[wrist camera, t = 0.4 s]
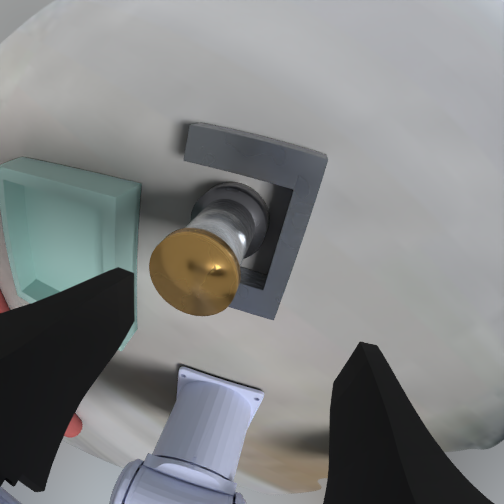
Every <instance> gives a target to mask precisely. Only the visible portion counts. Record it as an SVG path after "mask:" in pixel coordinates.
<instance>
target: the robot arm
mask: <svg viewBox="0 0 504 504" xmlns="http://www.w3.org/2000/svg"><path fill="white" fill-rule="evenodd" d="M134 321H135V315H134V273H133V272H130V271H127V270H125V269H122V268H119V267H117V268H114V269H112V270H109V271H107V272H104V273H102V274H100V275H97V276H95V277H93V278H91V279H88V280H86V281H84V282H82V283H79V284H77V285H75V286H72V287H70V288H68V289H66V290H63V291H61V292H59V293H56V294H54V295H51V296H49V297H46V298H43V299H41V300H39V301H36V302H34V303H31V304H28V305H25V306H22V307H19V308H16V309H13V310H9V311H6V312H3V313H0V504H21V503H20V502H19V501H18V500H16V499H15V498H14V497H13V496H11V495H10V494H9V493H8V492H7V491H5V490H4V489H3V488H2V487H1V485H2V483H3V482H4V480H6V481H7V482H8V483H9V484H10V485H12V486H15V485H16V483H17V481H18V480H19V481H20V482H21V483H23V484H24V485H26V486H27V487H29V488H30V489H31V490H33V491H34V492H41V491H44V490H45V487H46V483H47V479H48V476H49V473H50V469H51V466H52V463H53V461H54V458H55V456H56V453H57V450H58V448H59V445H60V443H61V441H62V439H63V436H64V434H65V432H66V430H67V428H68V425H69V423H70V421H71V419H72V417H73V416H74V414H75V412H76V410H77V408H78V406H79V404H80V402H81V401H82V399H83V397H84V396H85V394H86V393H87V391H88V390H89V388H90V387H91V386H92V384H93V383H94V382H95V380H96V379H97V377H98V376H99V375H100V373H101V372H102V371H103V369H104V368H105V366H106V365H107V364H108V362H109V361H110V360H111V358H112V357H113V356H114V354H115V353H116V352H117V350H118V349H119V347H120V346H121V344H122V343H123V341H124V339H125V338H126V336H127V334H128V332H129V330H130V328H131V327H132V325H133V323H134ZM263 397H264V393H263V392H262V391H260V390H256V389H253V388H249V387H246V386H242V385H239V384H236V383H232V382H229V381H226V380H223V379H220V378H216V377H213V376H210V375H207V374H204V373H201V372H198V371H196V370H193V369H190V368H187V367H180V369H179V373H178V385H177V398H176V403H175V405H174V407H173V409H172V411H171V414H170V416H169V418H168V420H167V422H166V425H165V427H164V429H163V431H162V433H161V436H160V438H159V440H158V442H157V445H156V447H155V449H154V451H153V453H152V454H149V453H148V454H147V456H146V459H145V461H143V460H140V459H136V460H135V461H132V462H129V463H128V464H127V465H126V466H125V467H124V469H123V470H122V472H121V474H120V476H119V477H118V480H117V481H116V484H115V486H114V489H113V491H112V494H111V498H110V504H246V501H245V500H244V498H243V496H242V494H241V493H238V492H235V489H236V486H237V483H235V482H233V480H234V477H235V473H236V469H237V465H238V462H239V458H240V454H241V450H242V446H243V443H244V439H245V435H246V431H247V428H248V427H249V425H250V423H251V421H252V419H253V417H254V415H255V413H256V411H257V409H258V407H259V405H260V403H261V401H262V399H263ZM323 504H494V503H493V502H491V501H490V500H489V499H487V498H486V497H485V496H484V495H483V494H482V493H481V492H480V491H478V489H476V488H475V487H474V486H473V485H472V484H471V483H470V482H469V481H468V480H467V479H466V478H465V477H464V476H463V474H462V473H461V472H460V471H459V470H458V469H457V468H456V466H454V464H453V463H452V462H451V461H450V459H449V458H448V457H447V456H446V454H445V453H444V452H443V450H442V449H441V448H440V446H439V445H438V444H437V442H436V441H435V440H434V438H433V437H432V435H431V434H430V433H429V431H428V430H427V428H426V427H425V425H424V423H423V422H422V420H421V419H420V417H419V416H418V414H417V412H416V411H415V409H414V407H413V406H412V404H411V402H410V401H409V399H408V397H407V396H406V394H405V392H404V390H403V389H402V387H401V385H400V383H399V382H398V380H397V378H396V376H395V375H394V373H393V371H392V369H391V368H390V366H389V364H388V362H387V361H386V359H385V357H384V356H383V354H382V352H381V351H380V349H379V348H378V346H377V345H373V344H368V343H364V342H359V344H358V345H357V347H356V349H355V350H354V352H353V353H352V355H351V357H350V358H349V360H348V361H347V363H346V364H345V366H344V367H343V369H342V370H341V372H340V373H339V375H338V376H337V378H336V379H335V381H334V383H333V390H332V397H331V406H330V440H329V471H328V481H327V487H326V493H325V498H324V503H323Z"/></svg>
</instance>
